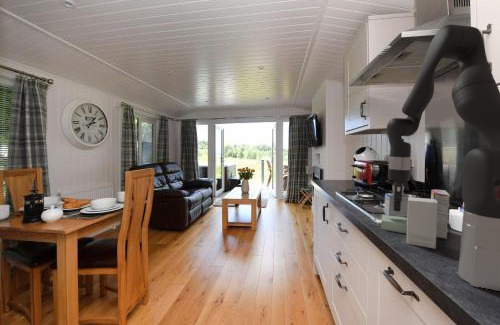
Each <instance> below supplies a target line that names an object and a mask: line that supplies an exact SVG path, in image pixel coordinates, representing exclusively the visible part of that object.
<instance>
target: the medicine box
mask: <svg viewBox="0 0 500 325" xmlns="http://www.w3.org/2000/svg"><path fill="white" fill-rule="evenodd" d="M409 197H411V196H410V195H408V194H405V193H403V196H402V201H401V207H400V211H394V196H393V193H386V192H385V194H384V209H383V212H384V215H388V216H397V217H404V218H407V215H408V198H409ZM396 198H400V197H399V196H396Z"/></svg>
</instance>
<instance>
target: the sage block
mask: <svg viewBox="0 0 500 325" xmlns="http://www.w3.org/2000/svg"><path fill="white" fill-rule="evenodd" d="M380 224H381V226H380V229H381V230H383V231H390V232H395V233H402V234H406V235H407V217H398V216H388V215H386V214H383V213H382V214H381V223H380Z"/></svg>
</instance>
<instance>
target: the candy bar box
mask: <svg viewBox="0 0 500 325" xmlns="http://www.w3.org/2000/svg"><path fill="white" fill-rule="evenodd" d="M430 194H431V195H430V199H436V201H437V202H438V209H437V230H436V239H437V238H438V239H445V240H448V237H449V222H450V207H451V204H450V203H451V195H450V193H449V192H448V191H447V190H443V189H431V193H430Z"/></svg>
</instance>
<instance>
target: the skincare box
mask: <svg viewBox="0 0 500 325" xmlns="http://www.w3.org/2000/svg"><path fill="white" fill-rule="evenodd" d="M437 209H438V202H437V201H436V199H431V198H422V197H413V196H410V197H409V198H408V215H407V217H406V218H407V234H406V244H408V245H413V246H418V247H424V248H428V249H434V250H435V249H437V237H436V230H437Z"/></svg>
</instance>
